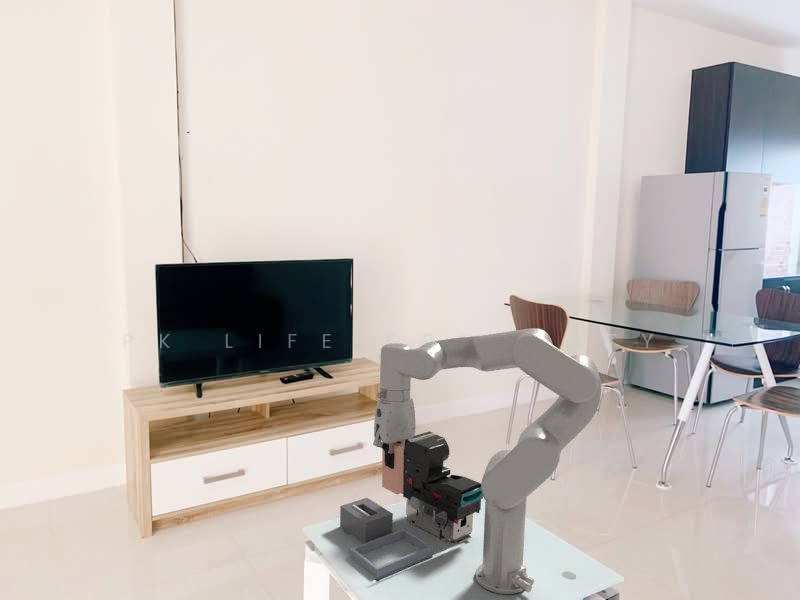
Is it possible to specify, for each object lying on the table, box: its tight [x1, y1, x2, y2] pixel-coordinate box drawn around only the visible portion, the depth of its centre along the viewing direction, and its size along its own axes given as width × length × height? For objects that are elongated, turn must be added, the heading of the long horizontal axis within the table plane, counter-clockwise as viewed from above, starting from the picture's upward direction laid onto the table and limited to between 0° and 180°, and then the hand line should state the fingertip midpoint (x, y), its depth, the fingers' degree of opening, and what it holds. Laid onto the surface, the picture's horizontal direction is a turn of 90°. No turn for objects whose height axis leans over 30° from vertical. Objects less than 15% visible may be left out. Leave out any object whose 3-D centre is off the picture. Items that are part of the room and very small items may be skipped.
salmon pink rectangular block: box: [381, 440, 404, 495], centre depth 150 cm, size 6×2×12 cm, turn 39°
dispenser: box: [339, 497, 394, 544], centre depth 165 cm, size 12×9×7 cm
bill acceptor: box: [401, 430, 484, 544], centre depth 167 cm, size 10×23×25 cm, turn 44°
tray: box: [349, 528, 434, 582], centre depth 153 cm, size 12×18×3 cm, turn 129°
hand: (393, 465), depth 150 cm, fingers closed on salmon pink rectangular block, 1 cm apart
